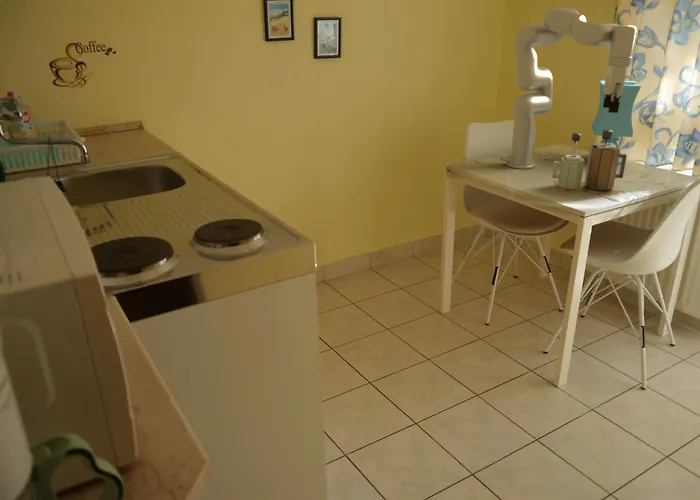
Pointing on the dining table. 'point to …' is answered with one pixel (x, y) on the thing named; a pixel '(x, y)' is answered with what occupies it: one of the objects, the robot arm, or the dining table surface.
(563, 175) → the green press
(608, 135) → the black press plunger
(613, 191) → the walnut board
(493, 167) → the dining table surface
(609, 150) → the brown coffee press
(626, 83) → the planter
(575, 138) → the green press plunger
